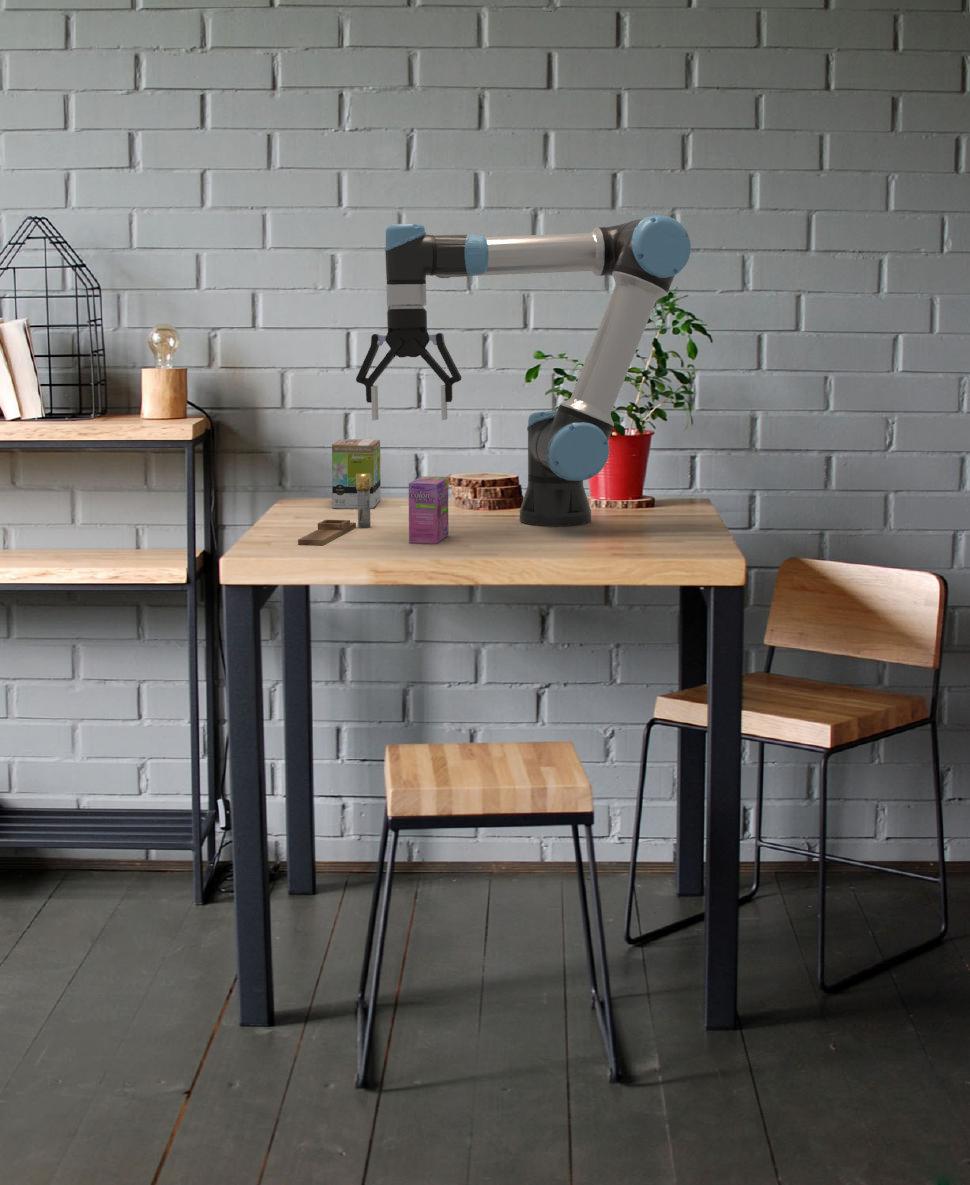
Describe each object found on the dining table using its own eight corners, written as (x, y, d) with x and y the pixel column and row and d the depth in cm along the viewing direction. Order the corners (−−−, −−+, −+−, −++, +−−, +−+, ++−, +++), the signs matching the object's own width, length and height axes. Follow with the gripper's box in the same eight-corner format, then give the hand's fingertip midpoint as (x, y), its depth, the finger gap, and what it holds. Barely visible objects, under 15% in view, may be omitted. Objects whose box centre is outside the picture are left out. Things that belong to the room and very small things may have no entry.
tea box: (375, 509, 300) (374, 443, 297) (331, 509, 300) (329, 444, 297) (381, 500, 315) (380, 437, 312) (339, 500, 315) (337, 437, 312)
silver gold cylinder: (373, 526, 276) (372, 473, 274) (369, 528, 273) (368, 475, 271) (359, 525, 276) (358, 473, 274) (355, 527, 273) (353, 474, 271)
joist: (356, 527, 274) (356, 516, 273) (323, 545, 253) (323, 534, 252) (332, 526, 275) (332, 516, 274) (297, 544, 254) (297, 533, 253)
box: (437, 544, 253) (436, 483, 251) (408, 543, 255) (407, 482, 252) (449, 535, 263) (449, 476, 261) (421, 534, 264) (420, 476, 262)
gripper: (474, 306, 255) (475, 417, 259) (346, 308, 258) (350, 418, 262) (469, 306, 248) (471, 420, 252) (338, 308, 250) (342, 421, 255)
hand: (409, 419), depth 257 cm, fingers open, 13 cm apart
